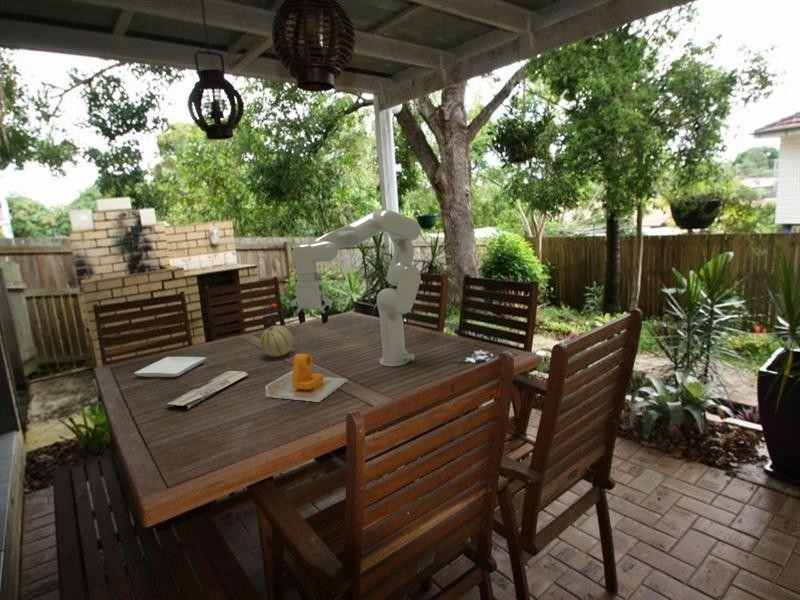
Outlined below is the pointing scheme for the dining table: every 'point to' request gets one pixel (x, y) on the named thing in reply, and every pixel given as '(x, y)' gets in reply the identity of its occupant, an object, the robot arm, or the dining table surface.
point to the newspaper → (207, 389)
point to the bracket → (305, 373)
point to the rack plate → (285, 390)
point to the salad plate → (170, 366)
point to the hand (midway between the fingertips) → (313, 322)
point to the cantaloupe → (276, 341)
